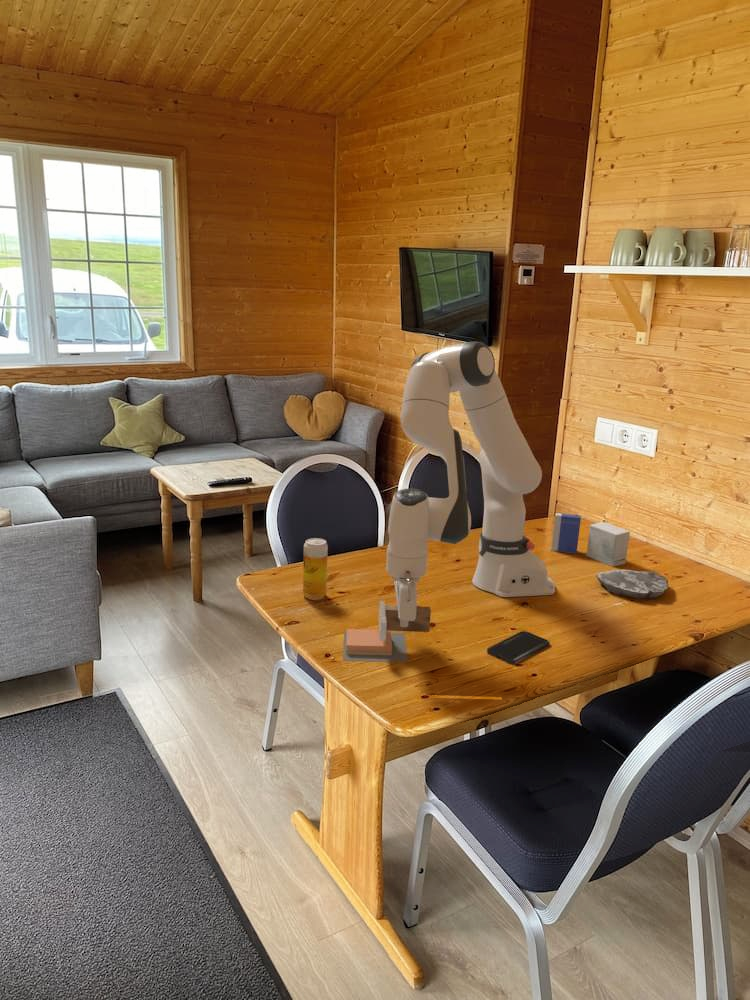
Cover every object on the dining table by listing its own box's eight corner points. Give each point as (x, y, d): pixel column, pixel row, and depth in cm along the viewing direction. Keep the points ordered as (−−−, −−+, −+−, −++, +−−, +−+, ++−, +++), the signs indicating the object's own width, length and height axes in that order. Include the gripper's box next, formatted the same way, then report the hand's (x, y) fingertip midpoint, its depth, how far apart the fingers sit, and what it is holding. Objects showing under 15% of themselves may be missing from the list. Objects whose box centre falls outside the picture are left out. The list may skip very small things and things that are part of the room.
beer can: (299, 593, 200) (300, 538, 195) (321, 590, 202) (323, 536, 198) (307, 602, 194) (308, 546, 190) (329, 599, 197) (331, 544, 193)
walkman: (576, 550, 240) (581, 514, 237) (576, 553, 238) (581, 517, 234) (551, 547, 242) (555, 511, 239) (550, 550, 240) (554, 514, 236)
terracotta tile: (390, 630, 175) (347, 628, 175) (392, 646, 167) (346, 645, 167) (390, 638, 176) (346, 637, 175) (391, 655, 168) (346, 653, 168)
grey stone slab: (618, 605, 202) (619, 594, 201) (587, 580, 218) (589, 570, 217) (684, 601, 206) (686, 591, 205) (649, 577, 222) (651, 568, 221)
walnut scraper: (426, 618, 177) (427, 598, 175) (431, 642, 165) (432, 620, 164) (378, 616, 176) (379, 596, 175) (380, 640, 165) (381, 619, 163)
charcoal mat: (403, 635, 179) (403, 633, 179) (407, 664, 165) (407, 662, 165) (344, 633, 178) (344, 631, 178) (342, 662, 165) (342, 660, 165)
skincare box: (585, 556, 236) (589, 524, 233) (599, 553, 240) (603, 521, 237) (611, 567, 228) (616, 534, 225) (626, 563, 231) (631, 531, 228)
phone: (551, 641, 177) (513, 661, 167) (551, 646, 177) (512, 666, 167) (523, 630, 182) (484, 648, 172) (523, 634, 183) (484, 653, 173)
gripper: (425, 582, 156) (421, 644, 160) (417, 548, 176) (414, 603, 180) (394, 581, 156) (391, 643, 160) (390, 547, 176) (387, 602, 180)
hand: (403, 622), depth 170 cm, fingers closed on walnut scraper, 2 cm apart
